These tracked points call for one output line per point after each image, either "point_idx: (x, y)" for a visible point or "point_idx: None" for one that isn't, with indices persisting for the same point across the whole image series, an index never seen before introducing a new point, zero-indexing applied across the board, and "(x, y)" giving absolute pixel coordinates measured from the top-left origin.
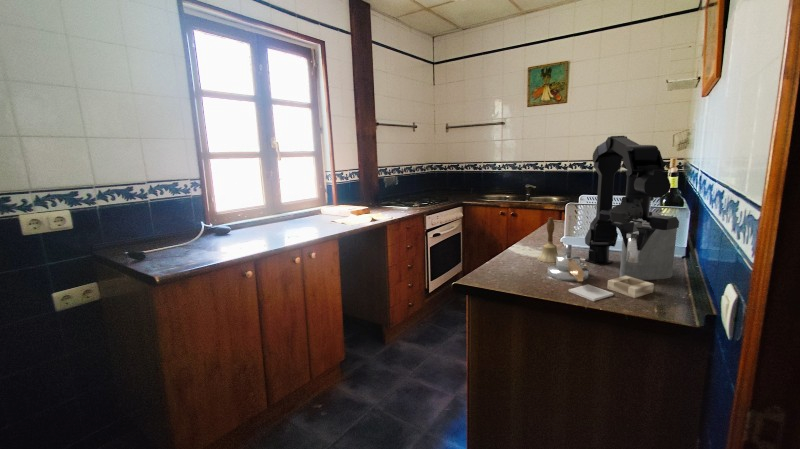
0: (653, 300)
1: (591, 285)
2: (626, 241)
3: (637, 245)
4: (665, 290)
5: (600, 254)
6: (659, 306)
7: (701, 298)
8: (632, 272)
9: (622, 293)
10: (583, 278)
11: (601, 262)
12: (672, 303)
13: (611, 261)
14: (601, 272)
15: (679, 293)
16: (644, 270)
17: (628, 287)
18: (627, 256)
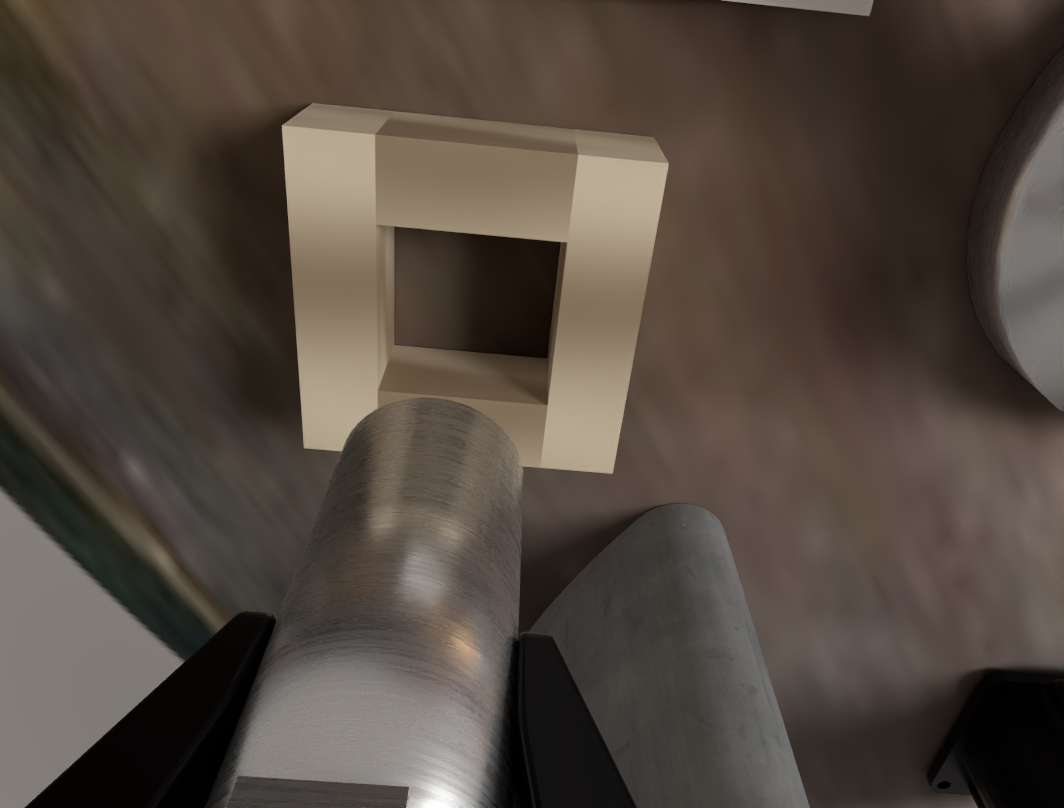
0: (181, 199)
1: (815, 8)
2: (524, 749)
3: (227, 691)
4: (305, 510)
5: (1059, 782)
6: (36, 81)
7: (65, 540)
8: (620, 594)
9: (458, 118)
10: (996, 178)
11: (999, 713)
12: (57, 266)
13: (935, 776)
14: (910, 529)
15: (208, 524)
16: None
17: (375, 133)
18: (467, 464)
